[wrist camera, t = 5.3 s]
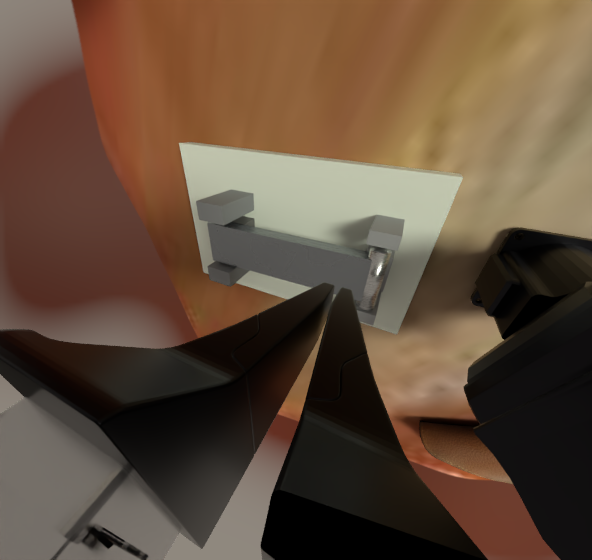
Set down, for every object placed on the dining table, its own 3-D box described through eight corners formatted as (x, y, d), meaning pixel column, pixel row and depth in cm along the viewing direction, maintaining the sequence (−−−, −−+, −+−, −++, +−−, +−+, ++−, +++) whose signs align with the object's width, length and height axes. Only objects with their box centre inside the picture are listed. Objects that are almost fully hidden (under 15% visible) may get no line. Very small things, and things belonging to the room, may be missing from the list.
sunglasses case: (439, 460, 32) (433, 497, 26) (423, 404, 33) (414, 429, 27) (663, 492, 21) (729, 564, 16) (629, 410, 23) (680, 452, 17)
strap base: (459, 173, 16) (477, 192, 11) (398, 324, 24) (393, 372, 19) (191, 142, 23) (133, 146, 18) (211, 267, 31) (174, 291, 26)
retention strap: (392, 248, 16) (390, 256, 15) (375, 301, 19) (373, 312, 18) (216, 211, 21) (205, 216, 20) (222, 259, 23) (213, 266, 22)
